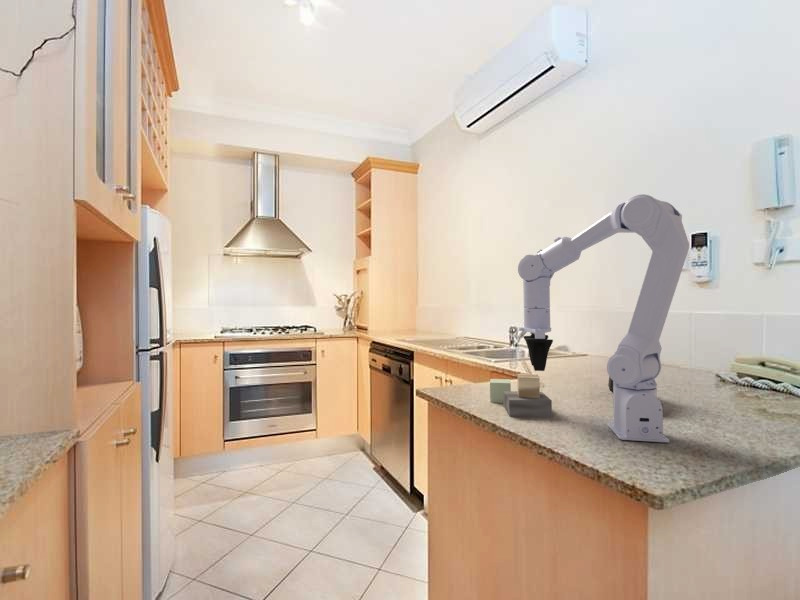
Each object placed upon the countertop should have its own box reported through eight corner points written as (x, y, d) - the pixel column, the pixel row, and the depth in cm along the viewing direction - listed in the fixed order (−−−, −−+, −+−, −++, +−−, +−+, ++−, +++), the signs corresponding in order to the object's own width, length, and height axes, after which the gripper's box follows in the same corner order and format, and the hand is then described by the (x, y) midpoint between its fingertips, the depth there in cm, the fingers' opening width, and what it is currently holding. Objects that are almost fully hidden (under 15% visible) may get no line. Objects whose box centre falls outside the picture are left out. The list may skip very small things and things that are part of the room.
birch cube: (539, 398, 93) (539, 377, 93) (518, 397, 94) (518, 377, 94) (537, 393, 97) (537, 374, 97) (517, 392, 98) (517, 373, 98)
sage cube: (510, 403, 104) (510, 383, 104) (490, 402, 105) (490, 382, 105) (510, 398, 108) (510, 379, 108) (490, 397, 110) (490, 378, 110)
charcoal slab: (551, 419, 91) (551, 400, 91) (509, 418, 91) (509, 400, 91) (542, 408, 99) (541, 391, 100) (503, 407, 100) (503, 391, 100)
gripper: (517, 308, 103) (518, 363, 103) (520, 309, 89) (521, 372, 89) (547, 307, 102) (548, 363, 102) (555, 308, 88) (556, 373, 88)
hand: (537, 368), depth 95 cm, fingers open, 7 cm apart
